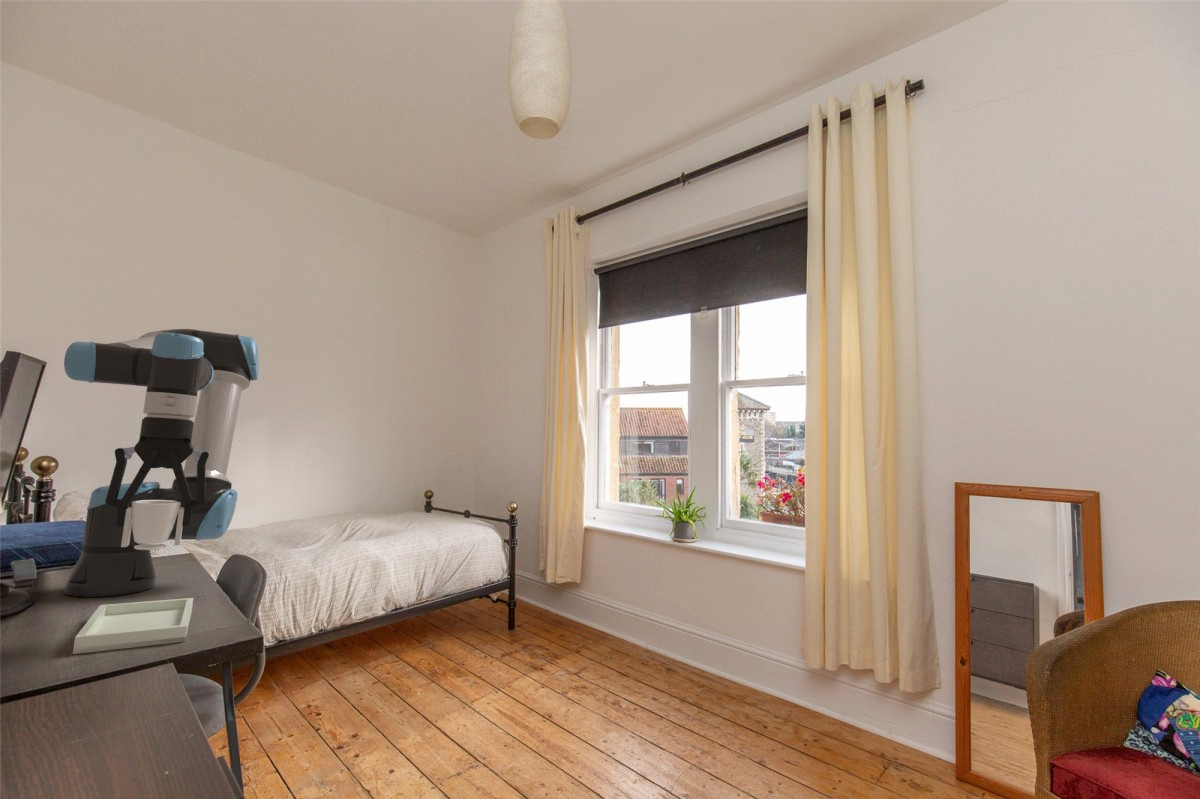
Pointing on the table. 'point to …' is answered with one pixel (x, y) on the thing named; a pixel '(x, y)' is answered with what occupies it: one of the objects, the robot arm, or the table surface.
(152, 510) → the cup
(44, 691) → the table surface
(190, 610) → the tray
